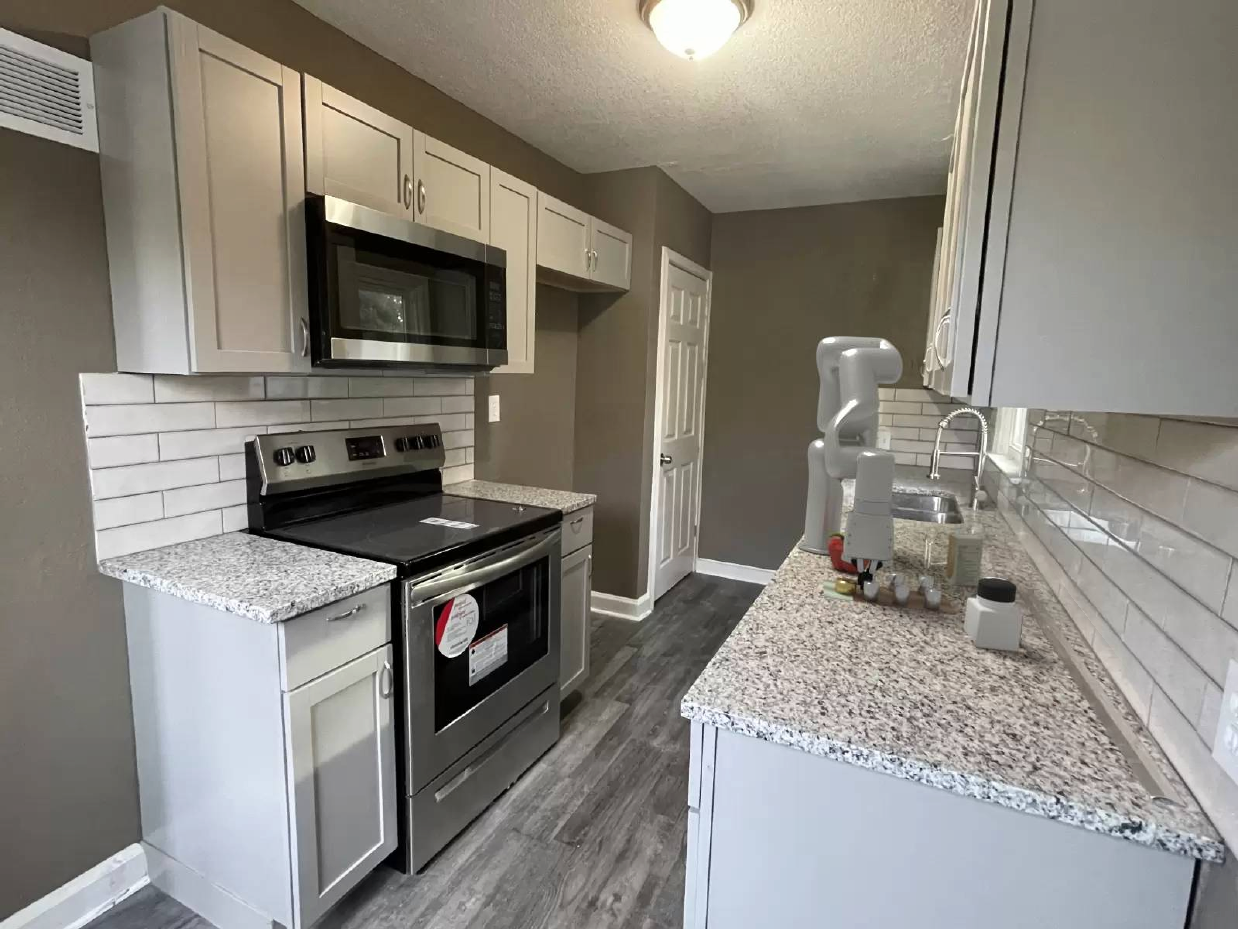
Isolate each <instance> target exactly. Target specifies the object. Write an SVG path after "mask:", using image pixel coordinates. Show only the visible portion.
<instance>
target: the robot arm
mask: <svg viewBox="0 0 1238 929" xmlns="http://www.w3.org/2000/svg"><path fill="white" fill-rule="evenodd" d="M901 356H902V355H901V354H900V352H899V350H898V349H897V348H896V347H895V345H893V344H892V343H891V342H890V341H889V340H887V339H885V338H884V337H883V338H882V337H881V338H880V337H871V336H870V337H863V336H862V337H861V336H843V335H841V336H839V335H838V336H828V337H825V338H823V339H821V340H820V341H819V343H818V345H817V348H816V359H815V360H816V366H817V370H818V374H819V380H820V387H819V396H818V404H817V414H816V416H817V418H816V424H817V428H818V430H819V431H820V432H821V433H824V437H823V438H818V439H815V440H813V441H812V442H811V443H809V446H808V447H807V448H808V449H807V460H808V464H807V465H808V486H807V501H806V511H805V522H804V524H805V525H804V535H803V536H804V539H803V540H800V541H801V542H800V541H798V543H799V542H800V543H799V544H798V543H797V547H798V548H799V549H801V550H802V551H805V552H809V553H813V554H819V555H828V556H830V554H829V551H828V546H829V543H830V540H832V539H835V538H836V539H838V538H840V537H838V536H833V537H832V538H831V537H829V535H830V534H832V533H840V534H841V526H842V515H843V504H844V494H845V493H844V491H845V490H844V487H843V484H842V482H841V480H842V479H845V480H855V488H854V496H853V497H854V499H853V508H852V510H849V512H848V515H847V517H846V522H845V528H844V532H843V533H844V534H843V535H844V541H843V553H842V555H841V559H842V560H843V561H846V562H849V563H852V564H853V565H854V567H855V568H856V569H857V570H858V573H857V579H856V580H857V581H856V582H857V585H860V589H861V590H863V589H864V581H865V580H873V574H874V573H875V572H877V571H878V570H879V569H881V568H882V567H883V568H885V567H893V566H894V561H893V560H894V559H893V557H894V551H895V550H894V545H895V526H894V525H895V522H894V515H893V514H891V513H892V512H895V511H896V512H897V511H899V504H895V503H893V502H892V496H893V487H894V477H895V468H896V457H895V455H894V454H893V453H891V452H888V451H887V450H886V449H885V448H882V447H876V446H877V440H878V432H879V424H880V423H879V422H880V416H879V408H880V407H881V406H880V404H881V403H880V402H881V401H880V395H879V394H880V393H879V384H886V385H887V384H888V385H889V384H890V385H892V384H895V383H897V382H898V381H899V380H900V379H901V377H902V374H903V359H902V357H901ZM839 435H842V436H856V439H843V438H839V437H840V436H839ZM839 479H841V480H839ZM863 559H867V560H869V563H868V567H866V569H867V570H866V571H865V569H864V567H863Z"/></svg>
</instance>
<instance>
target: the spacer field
mask: <svg viewBox="0 0 1238 929" xmlns="http://www.w3.org/2000/svg"><path fill="white" fill-rule="evenodd" d="M866 570H867V567H866V568H865V571H866ZM876 572H877V571H876ZM876 572H875V573H874V574H873V580H865V581H864V589H863V600H864V601H867V602H872V603H875V602H877V601H878V591H879V586H880V582H879V581H877V580H876ZM888 579H889V580H888V586H887V587H888V590H889V591H890V592H893V593H894V594H893V604H894V605H897V606H901V607H907V606H908V601H909V592H910V590H911V587H910V585H908V584H905V582H904V581H905V573H902V572H897V571H890V572H889V578H888ZM934 583H935V578H934V577H933V576H929V575H926V574H925V575H922V574H921V575H919V576H918V582H917V590H916V591H917V594H918V595H920V596H923V597H924V606H923V607H924V608H925V609H927V610H931V611H939V609H940V600H941V594H942V590H941V589H940V588H935V587H934ZM901 607H900V608H901Z"/></svg>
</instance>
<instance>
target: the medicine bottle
mask: <svg viewBox="0 0 1238 929" xmlns="http://www.w3.org/2000/svg"><path fill="white" fill-rule="evenodd" d="M1017 588H1018V587H1017V586H1016V584H1015V583H1013V582H1011V581H1010V580H1008V579H1004V578H1002V577H1001V578H1000V577H994V576H986V577H980V579H979V581H978V587H977V590H976V598H975V597H968V598H967V599H966V608H965V616H964V626H963V630H964V632H965V633H966V634H967V635H968V637H969V638H970V639H972V640H970V641H971V643H972V644H973V645H974V646H975V647H976V648H978V649H979V648H981V649H989V650H998V651H1006V652H1016V653H1017V652H1019V649H1020V643H1021V642H1020V641H1021V635H1022V630H1023V628H1022V627H1023V622H1024V614H1023V613H1022V612H1021V611H1019V610H1018V609H1017V608H1015V604H1016V596H1017Z"/></svg>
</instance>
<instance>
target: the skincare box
mask: <svg viewBox="0 0 1238 929" xmlns="http://www.w3.org/2000/svg"><path fill="white" fill-rule="evenodd" d="M983 545H984V538H982V537H980V536H978V535H977V534H961V533H960V534H958V533H949V536H948V546H947V556H946V565H945V566H946V567H945V569H946V570H945V578H944V579H945V580H946V581H947V582H948V583H949V584H951V585H953V586H956V585H958V586H966V587H968V586H969V587H977V588H978V581H979V580H980V579H981V577H980V576H981V570H982V569H981V568H982V566H981V565H982V556H983V547H984V546H983Z"/></svg>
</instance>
